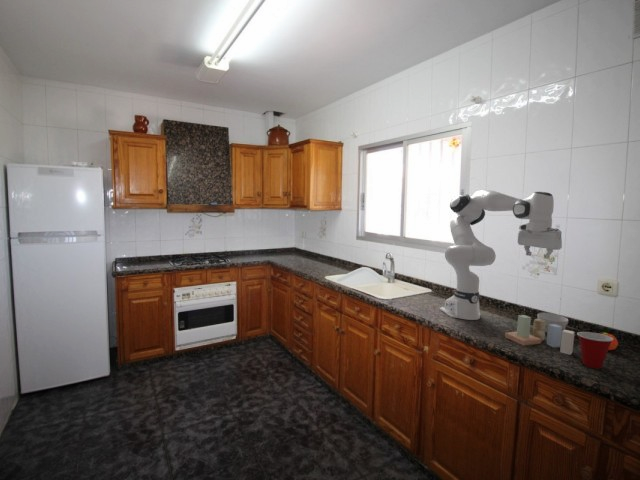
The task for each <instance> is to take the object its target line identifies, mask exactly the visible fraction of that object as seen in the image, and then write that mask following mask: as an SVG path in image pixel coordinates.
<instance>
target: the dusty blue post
mask: <svg viewBox="0 0 640 480" xmlns="http://www.w3.org/2000/svg"><path fill="white" fill-rule="evenodd" d="M546 335H547V336H546V345H548V346H550V347H551V348H560V347H561V338H562V327H561V326H559V325H557V324H548V333H547V334H546Z"/></svg>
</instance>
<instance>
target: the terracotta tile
mask: <svg viewBox="0 0 640 480" xmlns="http://www.w3.org/2000/svg"><path fill="white" fill-rule="evenodd" d="M516 334H517V331H511V332H510V331H509V332H504V337H505V338H506V339H509V340H511V341H512V342H515V343H517V344H519V345H521V346H531V345H538V344H539V345H540V344H542V341H541V339H540V338H537V337H535V336H533V334H530V333H529V337H524V338H523V337H520V336H518V335H516Z"/></svg>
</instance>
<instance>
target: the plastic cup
mask: <svg viewBox="0 0 640 480" xmlns="http://www.w3.org/2000/svg"><path fill="white" fill-rule="evenodd" d="M576 335H577V336H578V340H579V344H580V354H581V361H582V364H583V365H584V366H586V367H588V368H592V369H597V370H599V369H602V367H603V365H604V362H605V360H606V357H607V354H608V351H609V350H608V349H609V346H610V344H611V342H612V340H613V338H612V337H610V336H607V335H603V333H600V334H599V333H597V332H590V331H580V332H579V331H578V332H576Z"/></svg>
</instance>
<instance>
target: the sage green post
mask: <svg viewBox="0 0 640 480" xmlns="http://www.w3.org/2000/svg"><path fill="white" fill-rule="evenodd" d="M531 320H532V317H531V316H528V315H525V314H521V315H519V314H518V315H517V323H516V324H517V325H516V326H517V327H516V332H517V334H516V335H518V336H520V337H523V338H524V337H529V334H530V333H531V331H530V330H531Z"/></svg>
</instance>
